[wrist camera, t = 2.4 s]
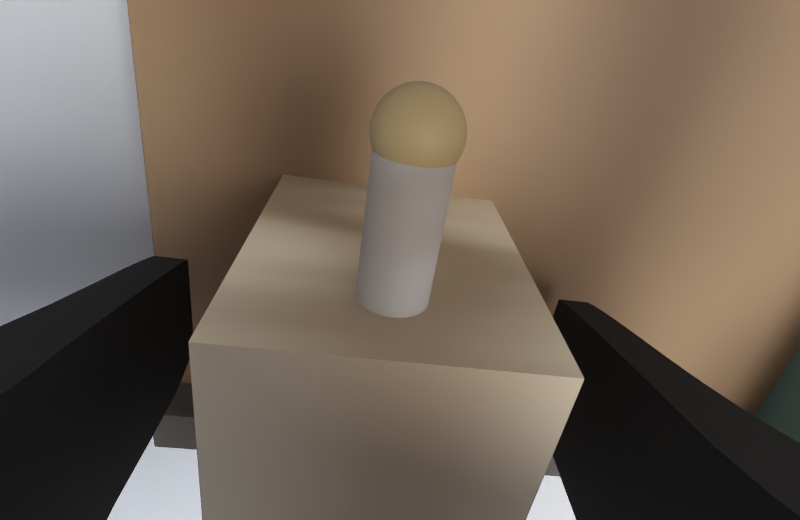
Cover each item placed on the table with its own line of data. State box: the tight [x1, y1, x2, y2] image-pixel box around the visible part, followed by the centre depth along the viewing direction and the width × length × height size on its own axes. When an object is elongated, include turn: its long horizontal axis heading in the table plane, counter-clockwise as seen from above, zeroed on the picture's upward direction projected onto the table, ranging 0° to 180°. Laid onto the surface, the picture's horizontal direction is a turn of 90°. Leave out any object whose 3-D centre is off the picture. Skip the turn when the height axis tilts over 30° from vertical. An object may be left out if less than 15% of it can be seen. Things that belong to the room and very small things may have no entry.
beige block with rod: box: [188, 81, 584, 520], centre depth 8 cm, size 4×10×5 cm, turn 172°
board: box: [127, 0, 800, 476], centre depth 10 cm, size 16×11×4 cm
